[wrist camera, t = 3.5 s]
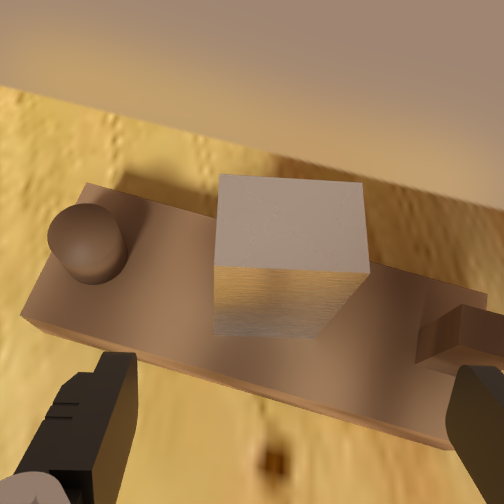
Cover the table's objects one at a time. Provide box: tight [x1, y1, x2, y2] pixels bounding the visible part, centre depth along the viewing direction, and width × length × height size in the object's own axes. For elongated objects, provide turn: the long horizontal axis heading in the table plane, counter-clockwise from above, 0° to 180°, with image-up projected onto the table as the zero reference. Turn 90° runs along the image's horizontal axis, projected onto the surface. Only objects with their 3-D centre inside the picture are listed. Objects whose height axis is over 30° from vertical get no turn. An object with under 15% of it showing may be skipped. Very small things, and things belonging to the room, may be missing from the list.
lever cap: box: [214, 174, 370, 339], centre depth 17 cm, size 4×3×8 cm
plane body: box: [20, 183, 504, 450], centre depth 20 cm, size 20×7×7 cm, turn 75°
